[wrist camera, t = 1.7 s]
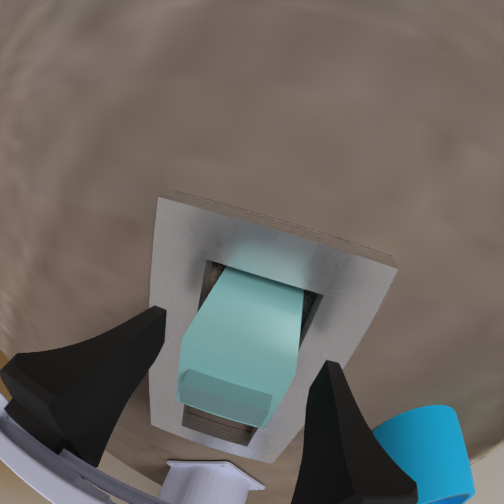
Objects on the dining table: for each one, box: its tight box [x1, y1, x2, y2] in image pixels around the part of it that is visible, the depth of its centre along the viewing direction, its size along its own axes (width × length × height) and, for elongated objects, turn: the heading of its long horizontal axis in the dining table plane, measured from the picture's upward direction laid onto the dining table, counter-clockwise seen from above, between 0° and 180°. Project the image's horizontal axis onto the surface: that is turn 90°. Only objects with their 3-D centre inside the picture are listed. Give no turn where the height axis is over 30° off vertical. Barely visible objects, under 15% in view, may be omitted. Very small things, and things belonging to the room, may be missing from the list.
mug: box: [373, 405, 475, 504], centre depth 15 cm, size 12×8×8 cm
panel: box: [149, 190, 398, 464], centre depth 17 cm, size 20×11×2 cm, turn 167°
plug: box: [176, 266, 304, 429], centre depth 12 cm, size 4×4×7 cm
